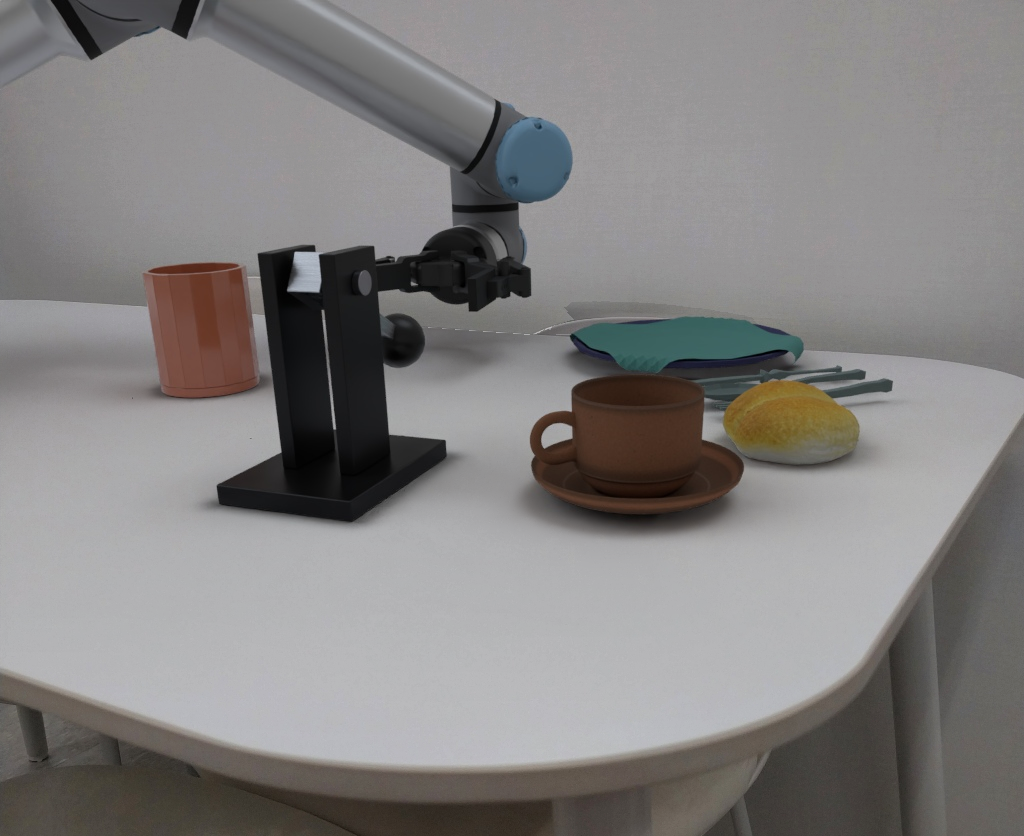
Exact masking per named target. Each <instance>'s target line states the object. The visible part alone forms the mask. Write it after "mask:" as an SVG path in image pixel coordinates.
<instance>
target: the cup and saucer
mask: <svg viewBox="0 0 1024 836" xmlns="http://www.w3.org/2000/svg"><path fill="white" fill-rule="evenodd" d="M570 392H571V393H570V394H571V395H570V396H571V397H570V399H571V400H570V401H571V411H569V410H559V411H558V410H557V411H552V412H548V413H546V414H545V415H543V416H541V417H540V418H539V419H538V420H537V421H536V422H535V423H534V425H533V427H532V428H531V431H530V435H529V447H530V450H531V452H532V454H533V455H534V456H533V458H531V461H530V467H531V472H532V476H533V477H534V480H535V481H536V482H537V484H538V485H540V487H542V488H543V489H544V490H545V491H546V492H548V494H550V495H552V496H553V497H555V498H557V499H559V500H561V501H564V502H566V503H569V504H571V505H574V506H576V507H580V508H584V509H587V510H588V509H589V510H593V511H597V512H604V513H612V514H620V515H621V514H623V515H624V514H625V515H655V514H657V515H658V514H668V513H675V512H681V511H686V510H691V509H694V508H698V507H702V506H705V505H708V504H710V503H713V502H714V501H716V500H719V499H721V498H722V497H724V496H725V495H727V494H728V493H729V492H730V491H732V490H733V489H734V488H735V487H736V486H738V485H739V483H740V482H741V480H742V477H743V474H744V471H745V463H744V461H743V459H742V458H741V457H740V455H738V454H737V453H736V452H735V451H733V450H731V449H730V448H728V447H726V446H724V445H720V444H718V443H716V442H712V441H708V440H705V439H703V432H704V431H703V430H704V429H703V428H704V412H705V399H706V398H705V390H704V388H703V386H701V385H700V384H698V383H696V382H693V381H692V380H690V379H686V378H683V377H677V376H671V375H663V374H652V373H651V374H650V373H649V374H647V373H630V374H629V373H628V374H627V373H626V374H614V375H604V376H599V377H594V378H590V379H589V378H588V379H586V380H583V381H580V382H578V383H576V384H575V385H574V386H572V388H571V391H570ZM557 424H564V425H567V426H569V427H571V438H567V439H565V440H561V441H558V442H555V443H553V444H550V445H548V446H546V447H544V445H543V443H542V442H543V441H542V438H543V434H544V432H545V431H546V429H548V428H549V427H550V426H552V425H557Z"/></svg>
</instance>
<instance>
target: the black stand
mask: <svg viewBox="0 0 1024 836" xmlns="http://www.w3.org/2000/svg"><path fill="white" fill-rule="evenodd" d="M295 252H317V249H316V245H315V244H298V245H293V246H292V245H291V246H288V247H287V246H286V247H282V248H278V249H272V250H267V251H262V252H257V262H258V271H259V280H260V286H261V287H260V288H261V295H262V296H261V297H262V304H263V310H264V311H263V312H264V320H265V328H266V337H267V345H268V354H269V362H270V370H271V377H272V387H273V395H274V402H275V411H276V419H277V427H278V435H279V445H280V451H281V452H279V453H277V454H275V455H273V456H271V457H269V458H267V459H266V460H263V461H261V462H259V463H257V464H255V465H254V466H251V467H250V468H248V469H246V470H243V471H242V472H240V473H237V474H235V475H233V476H232V477H229V478H228V479H226V480H224V481H222V482H219V483H218V484H216V486H215V487H216V493H217V500H218V504H219V505H225V506H234V507H241V508H247V509H248V508H249V509H256V510H264V511H269V512H279V513H287V514H294V515H299V516H309V517H316V518H317V517H318V518H323V519H331V520H339V521H347V522H353V521H355V520H356V519H358V518H359V517H361V516H362V515H363V514H365V513H367V512H368V511H370V510H371V509H373V508H374V507H376V506H377V505H379V504H380V503H381V502H383V501H384V500H386V499H387V498H388V497H390V496H391V495H393V494H394V493H396V492H397V491H399V490H400V489H402V488H403V487H405V486H406V485H408V484H409V483H411V482H412V481H414V480H415V479H416V478H418V477H419V476H421V475H422V474H424V473H425V472H427V471H429V470H430V469H431V468H433V467H434V466H436V465H437V464H439V463H440V462H442V461H443V460H444V459H446V458H447V456H448V454H447V440H446V439H441V438H431V437H430V438H429V437H421V436H409V435H396V434H390V429H389V418H388V417H389V416H388V403H387V402H388V401H387V391H386V378H385V377H386V376H385V364H384V363H383V350H382V337H381V325H380V314H381V312H380V300H379V299H380V298H379V292H378V286H377V273H376V261H375V260H376V249H375V246H374V245H356V246H352V247H347V248H342V249H338V250H333V251H326V252H327V253H323V254H319V263H320V274H321V284H322V294H323V304H324V310H313V309H311V308H310V307H308V306H307V305H306V304H304V303H303V302H301V301H300V300H298V299H297V298H296V297H294V296H293V295H291V294H290V293H288V292H287V288H288V283H289V278H290V273H291V268H292V263H293V258H294V254H295ZM323 313H324V320H323ZM324 324H325V330H324ZM325 334H326V339H325ZM325 340H326V341H327V342H326V341H325ZM326 343H327V349H326ZM327 354H328V358H327ZM328 360H329V361H328ZM328 363H329V371H328ZM329 374H330V381H329ZM330 383H331V390H330ZM331 394H332V398H331ZM331 399H332V401H331ZM332 405H333V409H332ZM332 410H333V411H332ZM333 413H334V420H333ZM334 425H335V428H334Z"/></svg>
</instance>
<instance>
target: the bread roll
mask: <svg viewBox="0 0 1024 836" xmlns="http://www.w3.org/2000/svg"><path fill="white" fill-rule="evenodd" d="M758 384H759V385H756V386H754V387H753V388H751V389H749V390H747V391H746V392H744V393H743V394H741V395H740V396H739V397H737V398H736V399H735V400H734V401H733V402H732V401H731V402H732V403H731V404H730V405H729V406H728V407H727V409H726V410H724V411H725V412H724V414H723V419H722V426H723V429H724V432H725V434H726V436H727V437H728V438H729V440H730V441H731V443H733V444H734V445H735V447H736V449H737V450H738V451H739V452H740V454H742V455H743V456H745V457H747V458H750V459H752V460H753V459H754V460H757V461H766V462H772V463H778V464H784V465H816V464H821V463H827V462H831V461H834V460H836V459H839V458H841V457H844V456H846V455H848V454H849V453H851V452H852V451H854V450H855V449H856V447H857V446H858V442H859V437H860V433H861V428H860V423H859V421H858V418H857V417H856V416H855V414H854V413H853V412H852V411H851V410H850V409H849V408H847V407H845V406H843V405H841V404H838V403H837V402H836V401H835V400H834V398H833V399H832V398H831V397H830V396H828V395H827V394H826V393H824V392H823V391H822V389H820V388H818V387H815V386H814V385H811V384H805V383H801V382H797V381H792V380H790V379H789V380H787V379H781V380H777V379H775V380H769V381H768V382H764V383H758Z"/></svg>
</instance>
